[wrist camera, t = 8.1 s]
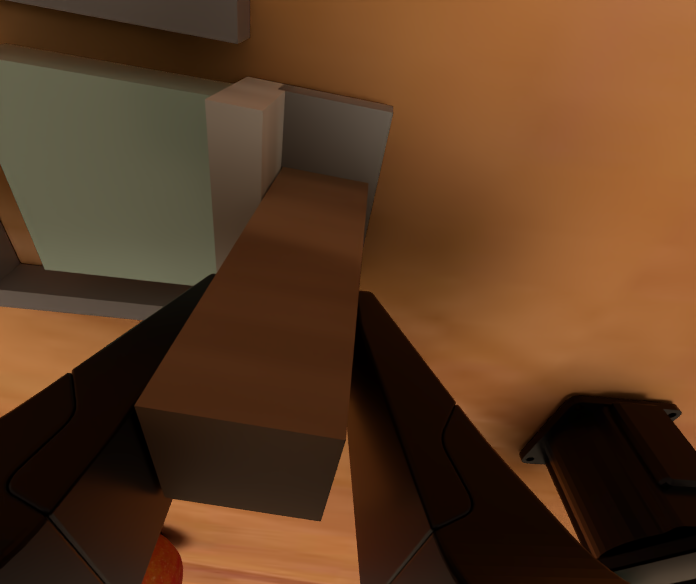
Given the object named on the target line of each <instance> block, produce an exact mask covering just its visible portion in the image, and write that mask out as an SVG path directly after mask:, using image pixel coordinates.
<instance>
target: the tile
mask: <svg viewBox="0 0 696 584" xmlns="http://www.w3.org/2000/svg"><path fill="white" fill-rule="evenodd" d="M231 85H233V84H232V83H227V82H221V81H215V80H210V79H204V78H198V77H193V76H187V75H182V74H176V73H170V72H165V71H159V70H153V69H148V68H142V67H137V66H131V65H125V64H120V63H114V62H108V61H103V60H97V59H92V58H86V57H80V56H75V55H69V54H63V53H58V52H52V51H47V50H41V49H35V48H30V47H24V46H18V45H13V44H7V43H6V44H0V164H1V167H2V169H3V171H4V174H5V176H6V179H7V181H8V183H9V186H10V188H11V190H12V193H13V195H14V198H15V200H16V202H17V205H18V207H19V209H20V212H21V214H22V217H23V219H24V221H25V224H26V226H27V228H28V231H29V233H30V235H31V238H32V240H33V243H34V245H35V247H36V250H37V252H38V254H39V257H40V259H41V262H42V264H43V266H44V269H45V270H54V271H63V272H72V273H81V274H91V275H100V276H109V277H118V278H127V279H136V280H145V281H154V282H163V283H173V284H182V285H191V286H194V285H195V284H197V283H198V282H199V281H201V280H202V279H204V278H205V277H207V276H208V275H210V274H213V273H215V274H216V273H217V271H216V256H215V242H214V227H213V212H212V198H211V183H210V168H209V154H208V139H207V124H206V110H205V99H206V98H208V97H210V96H212V95H214V94H216V93H218V92H220V91H221V90H223V89H225V88H227V87H229V86H231Z"/></svg>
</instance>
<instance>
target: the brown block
mask: <svg viewBox="0 0 696 584" xmlns="http://www.w3.org/2000/svg"><path fill="white" fill-rule="evenodd" d="M205 110H206V124H207V139H208V154H209V168H210V183H211V198H212V212H213V227H214V242H215V256H216V271H217V273H216V275H215V277H214V278H213V280H212V281H211V283H210V285H209V286H208V288H207V289H206V291H205V293H204V294H203V296H202V298H201V299H200V301H199V302H198V304H197V306H196V307H195V309H194V310H193V312H192V314H191V315H190V317H189V318H188V320H187V322H186V323H185V325H184V326H183V328H182V330H181V331H180V333H179V334H178V336H177V338H176V339H175V341H174V343H173V344H172V346H171V347H170V349H169V351H168V352H167V354H166V355H165V357H164V359H163V360H162V362H161V363H160V365H159V367H158V368H157V370H156V371H155V373H154V375H153V376H152V378H151V380H150V381H149V383H148V384H147V386H146V388H145V389H144V391H143V392H142V394H141V396H140V397H139V399H138V400H137V402H136V404H135V405H134V407H135V410H136V413H137V416H138V419H139V422H140V425H141V428H142V431H143V434H144V437H145V440H146V443H147V446H148V449H149V452H150V455H151V458H152V461H153V464H154V467H155V470H156V473H157V476H158V479H159V482H160V485H161V488H162V491H163V494H164V497H165V498H171V499H178V500H184V501H191V502H197V503H204V504H210V505H217V506H223V507H230V508H236V509H243V510H249V511H256V512H262V513H269V514H275V515H282V516H288V517H295V518H301V519H308V520H314V521H321V519H322V516H323V512H324V509H325V506H326V503H327V499H328V496H329V493H330V490H331V486H332V483H333V480H334V477H335V473H336V470H337V467H338V464H339V460H340V457H341V454H342V451H343V447H344V444H345V441H346V431H347V420H348V408H349V397H350V386H351V375H352V364H353V352H354V341H355V330H356V319H357V307H358V296H359V285H360V274H361V263H362V251H363V245H364V241H365V236H366V232H367V227H368V223H369V219H370V214H371V210H372V205H373V201H374V196H375V192H376V187H377V183H378V178H379V174H380V170H381V165H382V161H383V156H384V152H385V147H386V143H387V138H388V134H389V129H390V125H391V121H392V116H393V106H390V105H385V104H380V103H376V102H371V101H366V100H361V99H356V98H351V97H346V96H341V95H336V94H331V93H326V92H321V91H316V90H311V89H306V88H301V87H296V86H291V85H287V84H282V83H277V82H272V81H267V80H262V79H257V78H252V77H246V78H244V79H242V80H240V81H238V82H236V83H234V84H233V85H231V86H229V87H227V88H225V89H223V90H221V91H220V92H218V93H216V94H214V95H212V96H210V97H208V98H206V99H205Z"/></svg>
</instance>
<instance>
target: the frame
mask: <svg viewBox="0 0 696 584" xmlns="http://www.w3.org/2000/svg"><path fill="white" fill-rule="evenodd" d="M7 1H12V2H18V3H23V4H28V5H34V6H39V7H44V8H50V9H55V10H60V11H66V12H71V13H76V14H81V15H87V16H92V17H97V18H103V19H108V20H113V21H119V22H124V23H129V24H135V25H140V26H145V27H151V28H156V29H161V30H166V31H172V32H177V33H182V34H188V35H193V36H198V37H204V38H209V39H214V40H220V41H225V42H230V43H236V44H239V43H241V42H243V41H245V40H247V39H248V38H250V0H7ZM191 287H192V286H191V285H182V284H173V283H163V282H154V281H145V280H136V279H127V278H118V277H109V276H100V275H91V274H81V273H72V272H63V271H54V270H45V269H44V266H37V265H28V264H20V262H19V260H18V258H17V256H16V254H15V252H14V250H13V247H12V245H11V243H10V241H9V239H8V237H7V235H6V232H5V230H4V228H3V226H2V224H1V222H0V306H3V307H13V308H23V309H33V310H43V311H53V312H64V313H74V314H84V315H94V316H104V317H114V318H124V319H135V320H145V319H146V318H148V317H149V316H151V315H152V314H153V313H155V312H156V311H158V310H159V309H161V308H162V307H163V306H165V305H166V304H168V303H169V302H171V301H172V300H174V299H175V298H176V297H178V296H179V295H181V294H182V293H184V292H185V291H187V290H188V289H189V288H191Z"/></svg>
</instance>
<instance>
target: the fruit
mask: <svg viewBox="0 0 696 584" xmlns="http://www.w3.org/2000/svg"><path fill="white" fill-rule="evenodd" d="M182 579H183V565H182V560H181V557H180V555H179V553H178V551H177V550H176V548H175V547H174V546H173V545H172V543H171V542H170V541H169V540H168V539H167V538H166V537H164V536H163V535H161V534H160V535H159V537H158V540H157V543H156V546H155V548H154V551H153V554H152V557H151V559H150V562H149V565H148V567H147V570H146V573H145V576H144V578H143V581H142V584H182Z"/></svg>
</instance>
